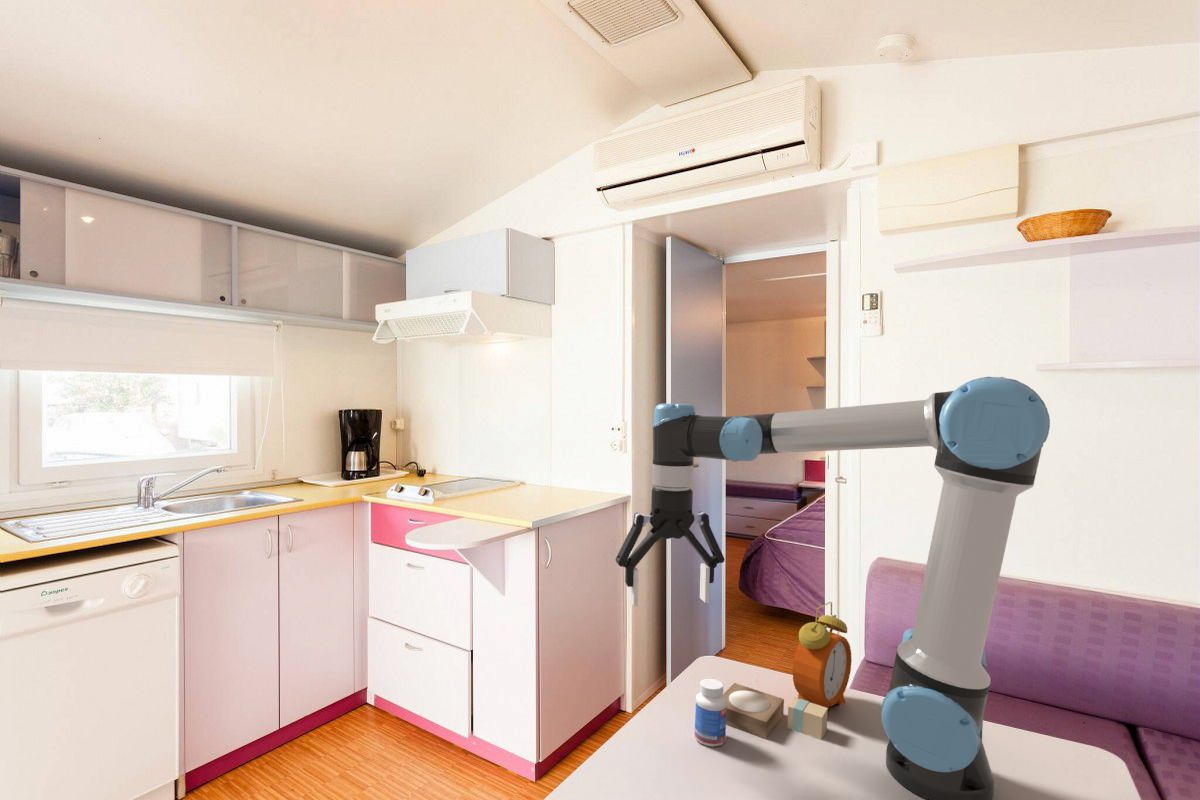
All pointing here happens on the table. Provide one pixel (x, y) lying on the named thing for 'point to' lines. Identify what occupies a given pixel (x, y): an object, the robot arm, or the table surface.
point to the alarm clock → (822, 661)
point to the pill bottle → (710, 713)
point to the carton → (807, 718)
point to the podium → (752, 710)
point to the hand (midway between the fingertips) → (669, 602)
